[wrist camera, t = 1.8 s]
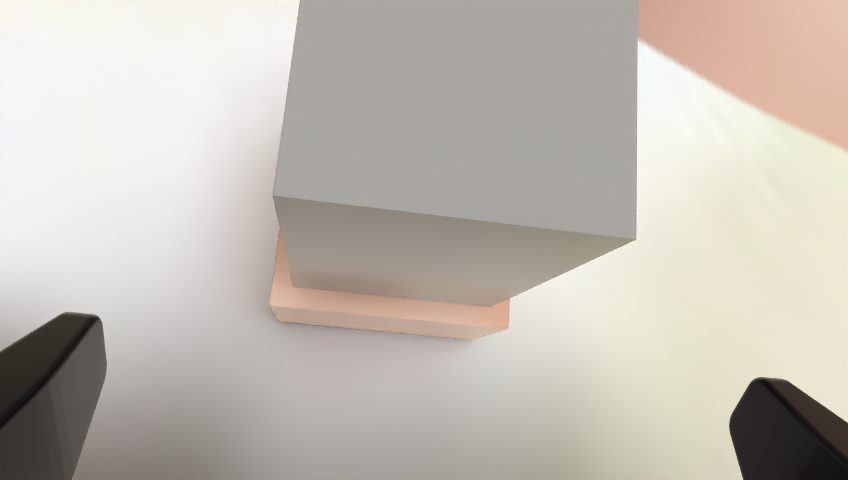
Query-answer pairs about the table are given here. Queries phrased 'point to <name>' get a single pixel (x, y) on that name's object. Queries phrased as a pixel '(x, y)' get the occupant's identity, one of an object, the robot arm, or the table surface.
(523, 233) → the slate block
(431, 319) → the plinth
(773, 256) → the table surface
